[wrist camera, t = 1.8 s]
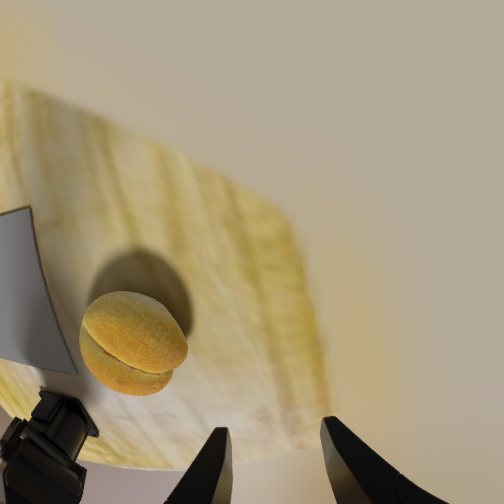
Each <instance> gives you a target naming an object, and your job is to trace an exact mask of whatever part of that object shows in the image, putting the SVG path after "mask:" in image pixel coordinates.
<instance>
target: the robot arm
mask: <svg viewBox="0 0 504 504" xmlns="http://www.w3.org/2000/svg"><path fill="white" fill-rule="evenodd" d="M39 395H40V397H41V400H40V402H39V403H38V404H37V406H36V407H35V409H34V410H33V411H32V413H31V416H32V417H31V419H30V420H29V422H28V421H27V420H26V419H25V418H24V419H23V420H21V419H19V418H18V417H15V418H14V419H13V420H12V422H11V423H10V425H9V426H8V428H7V429H6V431H5V432H4V434H3V436H2V438H1V439H0V447H1V448H0V459H1V460H2V462H1V464H0V504H79V503H80V501H81V498H82V494H83V489H84V484H85V478H86V472H87V469H85V468H84V467H82V466H80V465H79V464H77V463H76V462H75V461H76V459H77V457H78V455H79V453H80V450H81V448H82V446H83V444H84V442H85V440H86V438H87V436H92V437H96V438H98V436H99V433H98V431H97V430H96V428H95V427H94V425H93V424H92V422H91V420H90V419H89V417H88V415H87V414H86V412H85V410H84V409H83V407H82V405H81V403H80V402H79V401H78V400H77V399H75V398H71V397H66V396H62V395H58V394H53V393H50V392H46V391H42V390H40V392H39ZM20 436H21V437H22V438H24V439H21V438H20ZM320 437H321V443H322V448H323V454H324V460H325V465H326V470H327V474H328V477H329V481H330V484H331V487H332V490H333V493H334V496H335V499H336V502H337V504H449V503H447V502H445V501H443V500H441V499H439V498H438V497H436V496H434V495H432V494H430V493H428V492H427V491H425V490H423V489H422V488H420V487H418V486H417V485H416V484H414V483H413V482H412V481H410V480H409V479H407V478H406V477H405V476H404V475H402V474H400V472H399V471H397V470H396V469H395V468H394V467H393V466H391V465H390V464H389V463H388V462H387V461H385V460H384V459H383V458H382V457H381V456H379V455H378V454H377V453H376V452H375V451H374V450H372V449H371V448H370V447H369V446H368V445H367V444H366V443H364V442H363V441H362V440H361V439H360V438H359V437H358V436H356V435H355V434H354V433H353V432H352V431H351V430H350V429H349V428H347V427H346V426H345V425H344V424H343V423H342V422H341V421H340V420H339V419H338V418H337V417H335V416H328V417H324V418H323V419H322V423H321V429H320ZM232 483H233V473H232V444H231V438H230V434H229V429H228V428H227V427H216V428H215V429H214V430H213V432H212V433H211V435H210V436H209V438H208V440H207V441H206V443H205V444H204V446H203V447H202V449H201V450H200V452H199V453H198V455H197V456H196V458H195V459H194V461H193V462H192V464H191V465H190V467H189V468H188V470H187V471H186V473H185V474H184V476H183V477H182V478H181V480H180V481H179V483H178V484H177V486H176V487H175V488H174V490H173V491H172V493H171V494H170V495H169V497H168V498H167V500H168V501H167V500H166V501H165V502H164V504H230V502H231V493H232Z"/></svg>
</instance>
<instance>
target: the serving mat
mask: <svg viewBox="0 0 504 504" xmlns="http://www.w3.org/2000/svg"><path fill="white" fill-rule="evenodd" d="M0 358H3V359H6V360H10V361H14V362H17V363H21V364H26V365H30V366H34V367H39V368H43V369H48V370H53V371H59V372H64V373H70V374H76V375H77V374H78V372H77V370H76V368H75V366H74V364H73V361H72V359H71V357H70V354H69V352H68V349H67V347H66V344H65V342H64V339H63V337H62V334H61V331H60V329H59V326H58V323H57V320H56V317H55V314H54V311H53V308H52V305H51V302H50V298H49V295H48V291H47V288H46V284H45V281H44V277H43V273H42V269H41V264H40V260H39V255H38V251H37V246H36V240H35V235H34V229H33V222H32V215H31V208H28V209H24V210H21V211H17V212H13V213H10V214H6V215H3V216H0Z"/></svg>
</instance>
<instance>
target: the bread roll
mask: <svg viewBox="0 0 504 504" xmlns="http://www.w3.org/2000/svg"><path fill="white" fill-rule="evenodd" d="M79 344H80V349H81V354H82V358H83V360H84V362H85V364H86V366H87V367H88V369H89V370H90V371H91V373H92V374H93V375H94V377H95V378H96V379H98V380H99V381H100V382H101V383H103V384H104V385H106V386H107V387H109V388H110V389H112V390H114V391H117V392H120V393H123V394H128V395H133V396H144V395H150V394H155V393H157V392H159V391H160V390H162V389H163V388H164V387H165V386H166V385H167V384H168V382H169V380H170V379H171V377H172V374H173V369H174V368H177V367H178V366H179V365H181V364H182V363H183V361H184V360H185V358H186V357H187V352H188V345H187V341H186V338H185V336H184V334H183V332H182V331H181V329H180V327H179V325H178V324H177V322H176V321H175V320H174V318H173V316H172V315H171V314H170V312H169V311H168V310H167V309H166V307H165V306H164V305H163V304H161V303H160V302H158V301H156V300H155V299H153V298H151V297H148V296H146V295H143V294H140V293H135V292H129V291H115V292H109V293H106V294H104V295H102V296H100V297H99V298H97V299H96V300H95V301H93V302H92V303H91V304H90V305H89V306H88V307H87V308H86V310H85V312H84V314H83V318H82V323H81V327H80V334H79Z"/></svg>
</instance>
